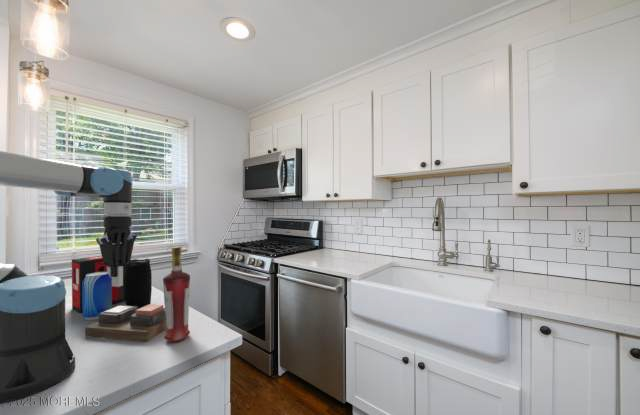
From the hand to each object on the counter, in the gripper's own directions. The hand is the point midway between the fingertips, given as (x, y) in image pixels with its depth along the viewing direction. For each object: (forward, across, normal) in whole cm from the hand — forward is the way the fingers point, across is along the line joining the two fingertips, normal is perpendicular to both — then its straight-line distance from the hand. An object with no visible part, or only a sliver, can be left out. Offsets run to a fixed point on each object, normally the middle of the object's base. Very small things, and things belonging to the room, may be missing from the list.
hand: (117, 285), depth 90 cm
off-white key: (+10, +1, 0) cm, 10 cm away
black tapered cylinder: (+14, +17, +8) cm, 23 cm away
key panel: (+14, +1, -6) cm, 16 cm away
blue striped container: (+14, +8, +17) cm, 23 cm away
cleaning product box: (+14, +19, +28) cm, 36 cm away
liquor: (+14, -3, -25) cm, 29 cm away
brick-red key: (+9, +1, -12) cm, 15 cm away
